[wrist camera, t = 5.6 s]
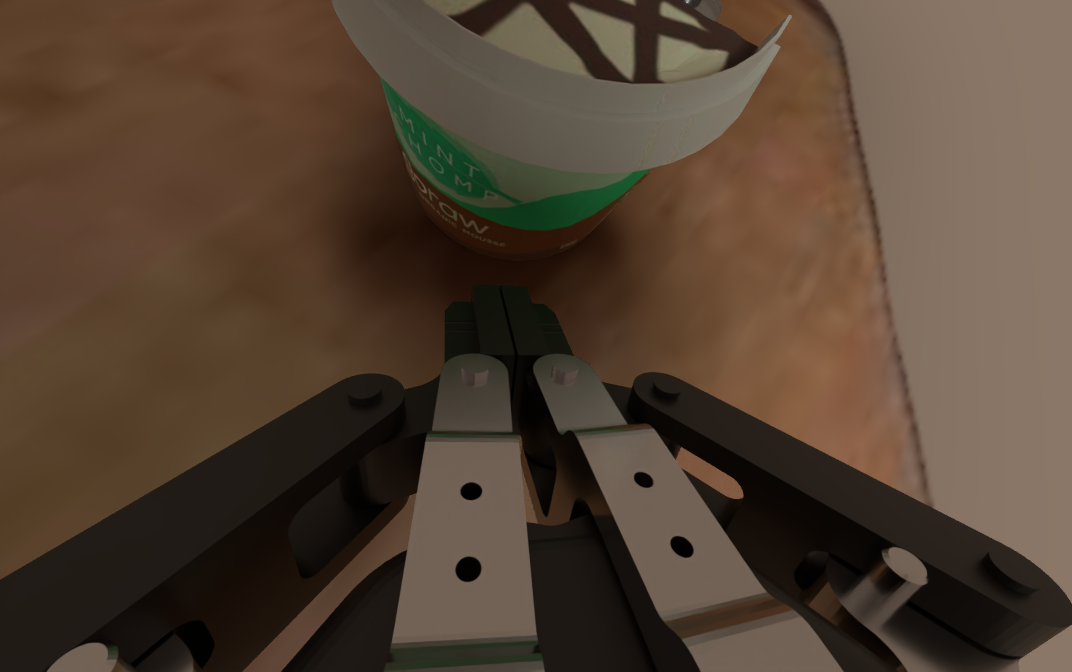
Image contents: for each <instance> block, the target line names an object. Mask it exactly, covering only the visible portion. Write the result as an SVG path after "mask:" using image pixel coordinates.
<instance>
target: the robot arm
mask: <svg viewBox="0 0 1072 672" xmlns="http://www.w3.org/2000/svg"><path fill="white" fill-rule="evenodd" d="M518 435H521V438H522V450H521V457H520V449H519V439H518ZM681 447H683V448H684V449H686V450H688V451H689V452H691V453H693V454H694V455H696V456H698V457H699V458H701V459H703V460H704V461H706V462H708V463H709V464H711V465H712V466H714V467H716V468H717V469H719V470H721V471H722V472H724V473H726V474H727V475H729V476H731V477H732V478H734V479H735V480H736V481H737V482H738V483H739V485H740V486H741V488H742V490H743V495H744V497H743V498H741V499H732V498H729V497H726V496H725V495H723V494H721V493H720V492H718V491H717V490H715V489H713V488H712V487H710V486H709V485H707V484H706V483H704V482H702V481H701V480H699V479H698V478H696V477H694V476H693V475H691V474H690V473H688V472H687V471H685V470H683V469H682V468H681V467H680V466H679V464H678V463H677V462H676V458H677V455H678V453H679V451H680V448H681ZM521 465H522V469H523V472H524V476H525V479H526V483H527V486H528V490H529V493H530V497H531V500H532V504H533V507H534V511H535V515H536V518H537V522H538V524H535V523H529V522H526V514H525V503H524V492H523V481H522V470H521ZM415 493H417V496H416V502H415V508H414V514H413V520H412V526H411V532H410V538H409V544H408V550H406V551H404V552H402V553H400V554H398V555H396V556H395V557H393V558H391V559H390V560H388V561H386V562H385V563H383V564H382V565H381V566H379V567H378V568H377V569H375V570H374V571H373V572H372V573H370V574H369V575H368V576H367V577H366V578H365V579H364V580H362V581H361V582H360V583H359V584H358V585H357V586H356V587H355V588H354V589H353V590H352V591H351V592H350V593H349V594H348V595H347V597H346V598H345V599H344V600H343V601H342V602H341V603H340V605H339V606H338V607H337V608H336V609H335V610H334V611H333V613H332V614H331V615H330V616H329V617H328V618H327V620H326V621H325V622H324V623H323V624H322V625H321V626H320V628H319V629H318V630H317V631H316V632H315V633H314V634H313V636H312V637H311V638H310V639H309V640H308V641H307V643H306V644H305V645H304V646H303V647H302V648H301V649H300V651H299V652H298V653H297V654H296V655H295V656H294V658H293V659H292V660H291V661H290V662H289V663H288V664H287V666H286V667H285V668H284V669H283V670H282V671H281V672H1019V666H1018V662H1019V660H1020V659H1021V658H1022V657H1024V656H1025V655H1027V654H1028V653H1030V652H1031V651H1032V650H1034V649H1036V648H1037V647H1039V646H1040V645H1042V644H1043V643H1045V642H1046V641H1048V640H1049V639H1051V638H1052V637H1054V636H1055V635H1057V634H1058V633H1060V632H1061V631H1063V630H1064V629H1066V628H1067V627H1069V626H1070V625H1072V604H1071V602H1070V600H1069V599H1068V597H1067V596H1066V594H1065V593H1064V592H1063V590H1062V589H1061V588H1060V587H1059V586H1058V585H1057V584H1056V583H1055V582H1054V581H1053V580H1052V579H1051V578H1050V577H1049V576H1048V575H1047V574H1046V573H1045V572H1043V571H1042V570H1041V569H1040V568H1039V567H1037V566H1036V565H1035V564H1034V563H1032V562H1031V561H1030V560H1028V559H1026V558H1025V557H1024V556H1022V555H1021V554H1019V553H1017V552H1016V551H1014V550H1013V549H1011V548H1009V547H1007V546H1005V545H1004V544H1002V543H1000V542H998V541H995V540H994V539H992V538H990V537H988V536H986V535H984V534H982V533H980V532H978V531H976V530H974V529H972V528H970V527H968V526H966V525H965V524H963V523H961V522H959V521H956V520H955V519H953V518H951V517H949V516H947V515H945V514H943V513H941V512H939V511H937V510H935V509H933V508H931V507H929V506H927V505H925V504H923V503H921V502H919V501H918V500H916V499H914V498H912V497H910V496H908V495H906V494H904V493H902V492H900V491H898V490H896V489H894V488H892V487H890V486H888V485H886V484H884V483H882V482H880V481H878V480H876V479H874V478H872V477H870V476H869V475H867V474H865V473H863V472H861V471H859V470H857V469H855V468H853V467H851V466H849V465H847V464H845V463H843V462H841V461H839V460H837V459H835V458H833V457H831V456H829V455H827V454H825V453H823V452H821V451H820V450H818V449H816V448H814V447H812V446H810V445H808V444H806V443H804V442H802V441H800V440H798V439H796V438H794V437H792V436H790V435H788V434H786V433H784V432H782V431H780V430H778V429H776V428H774V427H772V426H771V425H769V424H767V423H765V422H763V421H761V420H759V419H757V418H755V417H753V416H751V415H749V414H747V413H745V412H743V411H741V410H739V409H737V408H735V407H733V406H731V405H729V404H727V403H725V402H723V401H722V400H720V399H718V398H716V397H714V396H712V395H710V394H708V393H706V392H704V391H702V390H700V389H698V388H696V387H694V386H692V385H690V384H688V383H686V382H684V381H682V380H680V379H678V378H676V377H674V376H671V375H668V374H664V373H657V372H649V373H644V374H641V375H639V376H637V377H636V378H635V380H634V383H633V386H632V388H628V387H623V386H618V385H613V384H608V383H604V382H601V381H600V379H599V377H598V376H597V374H596V372H595V371H594V369H593V368H592V367H591V366H590V365H589V364H588V363H587V362H585V361H583V360H582V359H580V358H577V357H574V355H573V353H572V351H571V348H570V346H569V344H568V342H567V340H566V337H565V335H564V333H563V331H562V328H561V326H560V325H559V322H558V320H557V317H556V315H555V313H554V312H553V311H552V310H550V309H549V308H548V307H547V306H545V305H544V304H532V302H531V299H530V296H529V294H528V291H527V288H526V287H515V286H500V287H499V286H485V285H472V292H471V302H452V304H451V305H450V306H449V307H448V308H447V309H446V310H445V364H444V365H443V367H442V370H441V374H440V375H439V376H438V377H437V378H435V379H434V380H432V381H430V382H428V383H426V384H424V385H421V386H417V387H413V388H409V389H405V390H404V388H403V386H402V384H401V383H400V382H399V381H397V380H396V379H394V378H392V377H390V376H387V375H382V374H361V375H355V376H352V377H349V378H346V379H344V380H342V381H340V382H338V383H336V384H334V385H333V386H331V387H329V388H328V389H326V390H324V391H322V392H321V393H319V394H317V395H316V396H314V397H312V398H310V399H309V400H307V401H305V402H304V403H302V404H300V405H298V406H297V407H295V408H293V409H292V410H290V411H288V412H286V413H285V414H283V415H281V416H280V417H278V418H276V419H274V420H273V421H271V422H269V423H268V424H266V425H264V426H263V427H261V428H259V429H257V430H256V431H254V432H252V433H251V434H249V435H247V436H245V437H244V438H242V439H240V440H239V441H237V442H235V443H233V444H232V445H230V446H228V447H227V448H225V449H223V450H221V451H220V452H218V453H216V454H215V455H213V456H211V457H209V458H208V459H206V460H204V461H203V462H201V463H199V464H197V465H196V466H194V467H192V468H191V469H189V470H187V471H186V472H184V473H182V474H180V475H179V476H177V477H175V478H174V479H172V480H170V481H168V482H167V483H165V484H163V485H162V486H160V487H158V488H156V489H155V490H153V491H151V492H150V493H148V494H146V495H144V496H143V497H141V498H139V499H138V500H136V501H134V502H132V503H131V504H129V505H127V506H126V507H124V508H122V509H121V510H119V511H117V512H115V513H114V514H112V515H110V516H109V517H107V518H105V519H103V520H102V521H100V522H98V523H97V524H95V525H93V526H91V527H90V528H88V529H86V530H85V531H83V532H81V533H79V534H78V535H76V536H74V537H73V538H71V539H69V540H67V541H66V542H64V543H62V544H61V545H59V546H57V547H56V548H54V549H52V550H50V551H49V552H47V553H45V554H44V555H42V556H40V557H38V558H37V559H35V560H33V561H32V562H30V563H28V564H26V565H25V566H23V567H21V568H20V569H18V570H16V571H14V572H13V573H11V574H9V575H8V576H6V577H4V578H2V579H1V580H0V672H242V671H243V670H244V669H245V668H246V667H247V666H248V665H249V664H250V663H251V662H252V661H253V660H254V659H255V658H256V657H257V656H258V655H259V654H260V653H261V652H262V651H263V650H264V649H265V648H266V647H267V646H268V645H269V644H270V643H271V642H272V641H273V640H274V639H275V638H276V637H277V636H278V635H279V634H280V633H281V632H282V631H283V630H284V629H285V628H286V627H287V626H288V625H289V624H290V623H291V621H292V620H293V619H294V618H295V617H296V616H297V615H298V614H299V613H300V612H301V611H302V610H303V609H304V608H305V607H306V606H307V605H308V604H309V603H310V602H311V601H312V600H313V599H314V598H315V597H316V596H317V595H318V594H319V593H320V592H321V591H322V590H323V589H324V588H325V587H326V586H327V585H328V584H329V583H330V582H331V581H332V580H333V579H334V578H335V577H336V576H337V575H338V574H339V573H340V572H341V571H342V570H343V569H344V568H345V567H346V566H347V565H348V564H349V563H350V562H351V561H352V560H353V559H354V558H355V556H356V555H357V554H358V553H359V552H360V551H361V550H362V549H363V548H364V547H365V546H366V545H367V544H368V543H369V542H370V541H371V540H372V539H373V538H374V537H375V536H376V535H377V534H378V533H379V532H380V531H381V530H382V529H383V528H384V527H385V526H386V525H387V524H388V523H389V522H390V521H391V520H392V519H393V518H394V517H395V516H396V515H397V514H398V513H399V512H400V511H401V510H402V508H403V507H404V506H405V504H406V503H407V501H408V498H409V495H412V494H415Z"/></svg>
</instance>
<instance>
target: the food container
mask: <svg viewBox="0 0 1072 672" xmlns="http://www.w3.org/2000/svg"><path fill="white" fill-rule="evenodd" d="M331 1H332V4H333V7H334V10H335V12H336V14H337V15H338V17H339V19H340V21H341V22H342V24H343V26H344V28H345V29H346V31H347V33H348V35H349V37H350V38H351V40H352V42H353V43H354V45H355V46H356V47H357V48H358V50H359V51H360V52H361V53H362V55H363V56H364V57H365V58H366V60H367V61H368V62H369V63H370V65H371V66H372V67H373V68H374V70H375V71H376V72H377V73H378V75H380V79H381V82H382V86H383V89H384V93H385V96H386V100H387V104H388V107H389V111H390V114H391V118H392V121H393V125H394V128H395V132H396V135H397V139H398V142H399V146H400V149H401V153H402V157H403V160H404V164H405V167H406V171H407V174H408V178H409V181H410V185H411V187H412V189H413V191H414V193H415V195H416V196H417V198H418V200H419V202H420V204H421V206H422V208H423V210H424V212H425V214H426V215H427V216H428V217H429V218H430V219H431V220H432V221H433V222H434V223H435V224H436V225H437V226H438V227H439V228H440V229H441V230H442V231H443V232H444V233H445V234H446V235H447V236H449V237H450V238H451V239H453V240H454V241H456V242H457V243H459V244H460V245H462V246H464V247H466V248H468V249H470V250H472V251H474V252H477V253H480V254H483V255H486V256H489V257H492V258H498V259H504V260H513V261H529V260H536V259H543V258H547V257H550V256H553V255H556V254H560V253H562V252H564V251H566V250H568V249H570V248H572V247H574V246H575V245H576V244H578V243H579V242H580V241H582V240H583V239H585V238H586V237H587V236H588V235H589V234H590V233H591V232H592V231H593V230H594V229H595V228H596V227H597V226H598V225H599V224H600V223H601V222H602V221H603V220H604V219H605V218H606V217H607V216H608V215H609V214H610V213H611V212H612V211H613V209H614V208H615V207H616V206H617V205H618V204H619V203H620V202H621V201H622V200H623V199H624V198H625V197H626V196H627V195H628V194H629V193H630V192H631V191H632V190H633V189H634V188H635V187H636V186H637V185H638V184H639V183H640V182H641V181H642V180H643V179H644V178H645V177H646V176H647V175H648V174H649V173H650V172H651V171H652V170H653V169H654V168H655V167H658V166H662V165H666V164H670V163H672V162H675V161H677V160H679V159H681V158H684V157H686V156H688V155H691V154H693V153H695V152H697V151H699V150H701V149H702V148H703V147H705V146H706V145H708V144H709V143H711V142H712V141H713V140H715V139H716V138H718V137H719V136H721V135H722V134H723V133H724V132H725V131H726V129H727V128H728V127H729V126H730V125H731V124H732V123H733V122H734V121H735V120H736V119H737V118H738V117H739V116H740V114H741V112H742V111H743V109H744V107H745V106H746V104H747V102H748V101H749V99H750V97H751V96H752V94H753V92H754V91H755V89H756V87H757V85H758V84H759V82H760V80H761V79H762V77H763V75H764V74H765V72H766V70H767V69H768V67H769V65H770V64H771V62H772V60H773V59H774V57H775V55H776V54H777V52H778V50H779V49H780V46H778V45H777V44H775V42H776V41H777V39H778V38H779V37H780V35H781V33H782V32H783V30H784V29H785V27H786V25H787V24H788V22H789V21H790V19H791V17H792V16H791V15H788V16H787V17H786V18H785V19H784V20H783V22H782V23H781V24H780V25H779V26H778V27H777V28H776V29H775V30H774V31H773V32H772V33H771V34H770V35H769V36H768V37H767V38H766V39H765V40H764V41H763V42H762V43H761V44H760V45H759V47H757V46H755V45H753V44H752V43H750V42H748V41H746V40H744V39H743V38H742V37H741V36H739V35H738V34H737V33H736V32H734V31H733V30H731V29H729V28H727V27H725V26H723V25H721V24H719V23H717V22H715V21H713V20H711V19H709V18H707V17H706V16H704V15H703V14H701V13H700V12H699V11H697V10H696V9H694V8H693V7H691V6H690V5H688V4H687V3H686V2H684V1H683V0H331Z"/></svg>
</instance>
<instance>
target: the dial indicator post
mask: <svg viewBox="0 0 1072 672" xmlns="http://www.w3.org/2000/svg"><path fill="white" fill-rule="evenodd" d="M683 1H684V2H686V3H687V4H688V5H690V6H691V7H693V8H694V9H696V10H697V11H699V12H700V13H701V14H703V15H704V16H706V17H707V18H709V19H711V20H713V21H716V20H717V18H718V17H719V15H720V12H721V2H720V0H683Z"/></svg>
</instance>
